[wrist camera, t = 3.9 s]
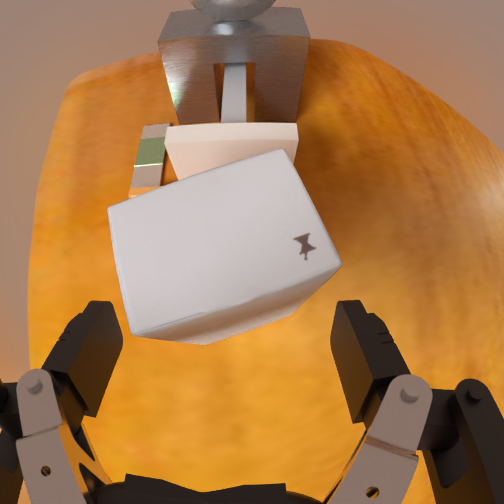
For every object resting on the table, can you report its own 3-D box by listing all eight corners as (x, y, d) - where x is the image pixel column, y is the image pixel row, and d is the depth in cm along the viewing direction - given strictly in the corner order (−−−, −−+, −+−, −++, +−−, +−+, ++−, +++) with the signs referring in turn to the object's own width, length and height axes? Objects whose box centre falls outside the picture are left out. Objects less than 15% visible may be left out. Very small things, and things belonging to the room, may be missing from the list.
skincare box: (268, 256, 20) (289, 142, 9) (291, 316, 19) (351, 267, 8) (182, 285, 20) (102, 203, 8) (202, 347, 18) (131, 343, 7)
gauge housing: (290, 86, 26) (307, -54, 11) (307, 228, 21) (384, 42, 7) (154, 91, 25) (117, -39, 11) (125, 231, 21) (1, 84, 7)
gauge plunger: (276, 91, 24) (281, 34, 18) (285, 198, 21) (298, 139, 15) (153, 98, 24) (136, 44, 18) (130, 203, 21) (93, 152, 15)
